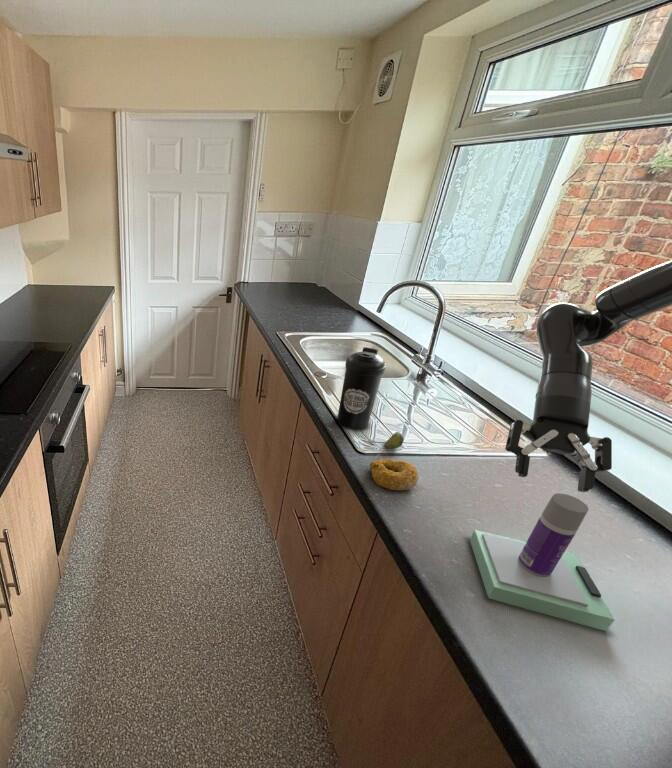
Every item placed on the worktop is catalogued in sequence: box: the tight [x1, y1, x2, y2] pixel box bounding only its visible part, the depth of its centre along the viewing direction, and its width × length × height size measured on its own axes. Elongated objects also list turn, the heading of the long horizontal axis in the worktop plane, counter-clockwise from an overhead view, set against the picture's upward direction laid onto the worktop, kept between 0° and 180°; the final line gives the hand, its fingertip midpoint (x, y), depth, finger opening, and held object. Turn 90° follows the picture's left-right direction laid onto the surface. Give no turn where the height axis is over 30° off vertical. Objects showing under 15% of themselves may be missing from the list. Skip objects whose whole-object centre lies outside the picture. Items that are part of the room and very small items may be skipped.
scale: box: [469, 529, 615, 632], centre depth 75 cm, size 16×14×4 cm
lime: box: [384, 431, 405, 450], centre depth 112 cm, size 4×5×5 cm
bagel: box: [369, 458, 419, 491], centre depth 100 cm, size 10×11×5 cm
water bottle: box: [336, 346, 387, 431], centre depth 120 cm, size 10×10×23 cm
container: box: [518, 493, 589, 577], centre depth 71 cm, size 5×5×15 cm
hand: (552, 483), depth 75 cm, fingers open, 8 cm apart
